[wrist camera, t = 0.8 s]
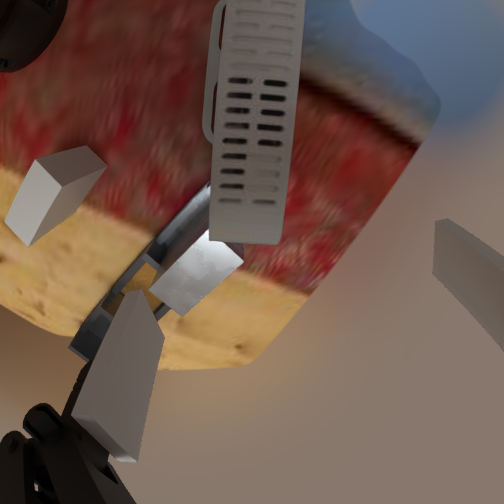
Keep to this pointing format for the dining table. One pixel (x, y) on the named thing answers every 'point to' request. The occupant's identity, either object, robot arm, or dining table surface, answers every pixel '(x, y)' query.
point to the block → (53, 191)
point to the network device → (252, 116)
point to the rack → (167, 272)
